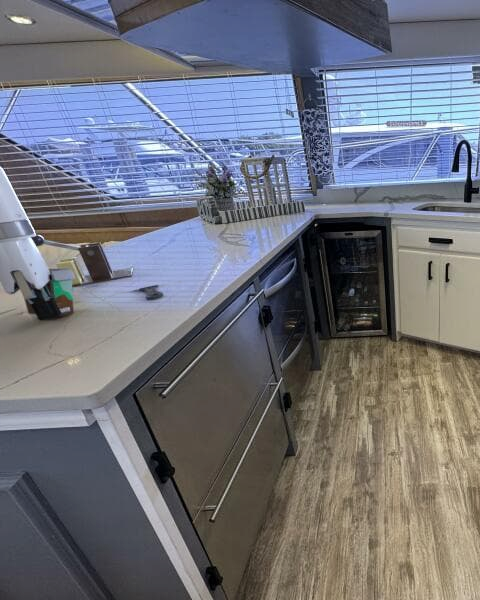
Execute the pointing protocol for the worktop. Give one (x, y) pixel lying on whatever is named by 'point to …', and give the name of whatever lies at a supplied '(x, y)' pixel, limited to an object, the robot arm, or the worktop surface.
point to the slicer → (99, 265)
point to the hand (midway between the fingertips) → (51, 317)
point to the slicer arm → (51, 243)
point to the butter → (72, 268)
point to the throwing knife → (151, 292)
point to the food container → (59, 291)
